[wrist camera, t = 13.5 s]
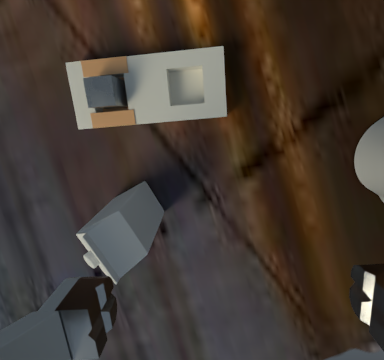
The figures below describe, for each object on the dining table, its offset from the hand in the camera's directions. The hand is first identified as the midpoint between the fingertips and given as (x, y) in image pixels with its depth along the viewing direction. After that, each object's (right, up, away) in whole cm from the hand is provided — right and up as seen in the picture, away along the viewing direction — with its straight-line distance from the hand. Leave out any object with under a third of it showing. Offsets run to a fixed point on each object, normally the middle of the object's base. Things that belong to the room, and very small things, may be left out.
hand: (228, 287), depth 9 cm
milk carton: (-11, -1, +40) cm, 41 cm away
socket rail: (-8, +19, +34) cm, 39 cm away
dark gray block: (-14, +18, +33) cm, 40 cm away
